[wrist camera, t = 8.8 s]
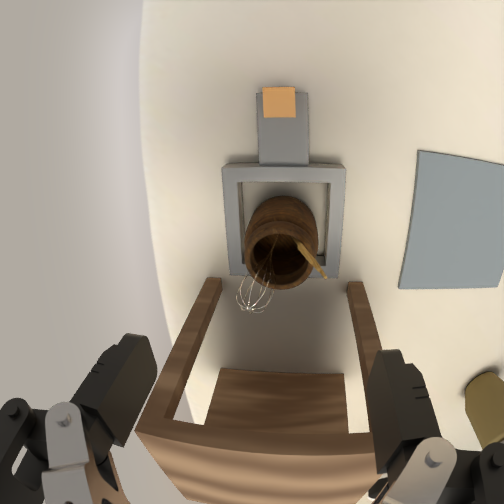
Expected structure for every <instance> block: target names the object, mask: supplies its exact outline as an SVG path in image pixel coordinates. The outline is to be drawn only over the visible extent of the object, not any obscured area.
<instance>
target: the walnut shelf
mask: <svg viewBox="0 0 504 504" xmlns="http://www.w3.org/2000/svg"><path fill="white" fill-rule="evenodd" d="M221 292H222V283H221V278H207V279H206V281H205V283H204V285H203V287H202V289H201V291H200V293H199V295H198V297H197V299H196V301H195V303H194V305H193V307H192V309H191V311H190V313H189V315H188V317H187V319H186V321H185V323H184V325H183V327H182V329H181V332H180V334H179V336H178V338H177V340H176V342H175V344H174V346H173V348H172V350H171V352H170V354H169V357H168V359H167V361H166V363H165V365H164V367H163V369H162V371H161V374H160V376H159V378H158V380H157V382H156V384H155V386H154V389H153V391H152V393H151V395H150V397H149V399H148V401H147V404H146V406H145V408H144V410H143V412H142V415H141V417H140V419H139V421H138V424H137V426H136V428H135V430H134V431H135V433H136V434H137V436H138V437H139V438H140V440H141V441H142V443H143V444H144V446H145V447H146V449H147V450H148V451H149V453H150V454H151V455H152V457H153V458H154V460H155V461H156V462H157V464H158V465H159V466H160V467H161V469H162V470H163V471H164V473H165V474H166V475H167V476H168V478H169V479H170V480H171V481H172V483H173V484H174V485H175V486H176V487H177V489H178V490H179V491H180V492H181V493H182V494H183V496H184V497H185V498H186V499H188V500H192V501H197V502H202V503H207V504H356V503H357V502H358V501H359V500H360V499H361V497H362V496H363V495H364V494H365V493H366V492H367V491H368V490H369V489H370V488H371V487H372V486H373V485H374V484H375V483H376V482H377V480H378V479H379V478H380V477H381V476H382V475H383V474H377V470H376V460H375V451H374V443H373V435H372V427H371V420H370V413H369V406H368V400H367V382H368V378H369V375H370V372H371V369H372V366H373V363H374V359H375V356H376V353H377V351H378V350H382V347H381V343H380V339H379V336H378V332H377V328H376V325H375V321H374V318H373V314H372V311H371V308H370V304H369V301H368V298H367V294H366V291H365V288H364V285H363V282H348V289H347V298H348V303H349V307H350V312H351V317H352V322H353V327H354V332H355V338H356V343H357V349H358V354H359V360H360V366H361V372H362V378H363V385H364V392H365V399H366V406H367V414H368V422H369V430H370V432H367V433H350V434H349V431H348V417H347V404H346V393H345V382H344V374H304V373H277V372H260V371H246V370H234V369H224V368H221V369H220V372H219V375H218V379H217V382H216V386H215V389H214V393H213V396H212V399H211V403H210V406H209V410H208V413H207V417H206V420H205V423H204V425H199V424H193V423H188V422H182V421H177V420H173V417H174V415H175V412H176V409H177V407H178V404H179V401H180V399H181V396H182V394H183V391H184V388H185V386H186V383H187V380H188V378H189V375H190V372H191V370H192V367H193V365H194V362H195V359H196V357H197V354H198V352H199V349H200V346H201V344H202V341H203V339H204V336H205V333H206V331H207V328H208V326H209V323H210V321H211V318H212V315H213V313H214V310H215V308H216V305H217V303H218V300H219V298H220V295H221Z"/></svg>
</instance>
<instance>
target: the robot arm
mask: <svg viewBox="0 0 504 504" xmlns="http://www.w3.org/2000/svg"><path fill="white" fill-rule="evenodd" d="M156 377H157V364H156V361H155V358H154V355H153V352H152V349H151V346H150V342H149V340H148V338H147V337H146V336H142V335H136V334H130V333H127V334H125V335H124V336H123V338H122V339H121V341H120V342H119V344H118V345H115V344H114V345H113V346H111V347H110V348H108V349H107V350H106V351H104V352H103V353H102V355H101V356H100V358H99V359H98V361H97V364H95V365H94V366H93V368H92V370H91V372H89V374H88V375H87V377H86V378H85V380H84V381H83V382H82V384H81V385H80V387H79V388H78V390H77V391H76V393H75V394H74V396H73V398H72V399H71V400H70V402H61V403H58V404H56V405H54V406H52V407H51V408H50V410H38V409H31V408H30V406H29V405H28V404H27V402H26V401H25V400H24V399H21V398H13V399H11V400H9V401H7V402H6V403H5V404H4V405H3V407H2V408H1V410H0V504H42V503H43V501H44V499H45V502H46V504H130V502H129V501H128V500H127V498H126V496H125V494H124V492H123V489H122V486H121V483H120V481H119V477H118V474H117V471H116V468H115V465H114V461H113V458H112V454H111V452H110V448H111V446H112V444H114V445H117V446H120V447H124V445H125V443H126V441H127V439H128V437H129V435H130V432H131V430H132V428H133V426H134V424H135V422H136V420H137V418H138V415H139V413H140V411H141V409H142V407H143V405H144V403H145V400H146V399H147V397H148V394H149V393H150V390H151V388H152V386H153V384H154V382H155V380H156ZM367 400H368V406H369V413H370V420H371V427H372V435H373V443H374V451H375V460H376V470H377V474H385V473H387V477H388V482H387V483H386V485H385V486H384V487H383V489H382V490H381V492H380V493H379V494H378V496H377V497H376V498H375V500H374V501H373V502H372V504H504V444H503V443H500V442H494V443H491V444H489V445H487V446H486V447H485V448H484V449H483V450H482V451H467V450H458V449H455V448H454V446H453V445H452V444H451V443H450V442H449V441H448V440H446V439H444V438H442V436H441V433H440V430H439V426H438V423H437V419H436V416H435V413H434V409H433V406H432V403H431V400H430V398H429V394H428V391H427V388H426V385H425V382H424V379H423V376H422V373H421V372H420V371H419V370H418V369H417V368H416V367H415V365H414V364H413V363H411V364H405V362H404V359H403V356H402V353H401V351H400V350H399V349H395V350H378V351H377V353H376V356H375V359H374V363H373V366H372V369H371V372H370V375H369V378H368V382H367ZM22 446H25V448H27V452H26V454H25V456H24V457H23V459H22V461H21V463H20V465H19V467H18V469H17V471H16V473H15V475H13V474H12V465H13V463H14V461H15V460H16V458H17V456H18V454H19V452H20V450H21V448H22Z"/></svg>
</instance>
